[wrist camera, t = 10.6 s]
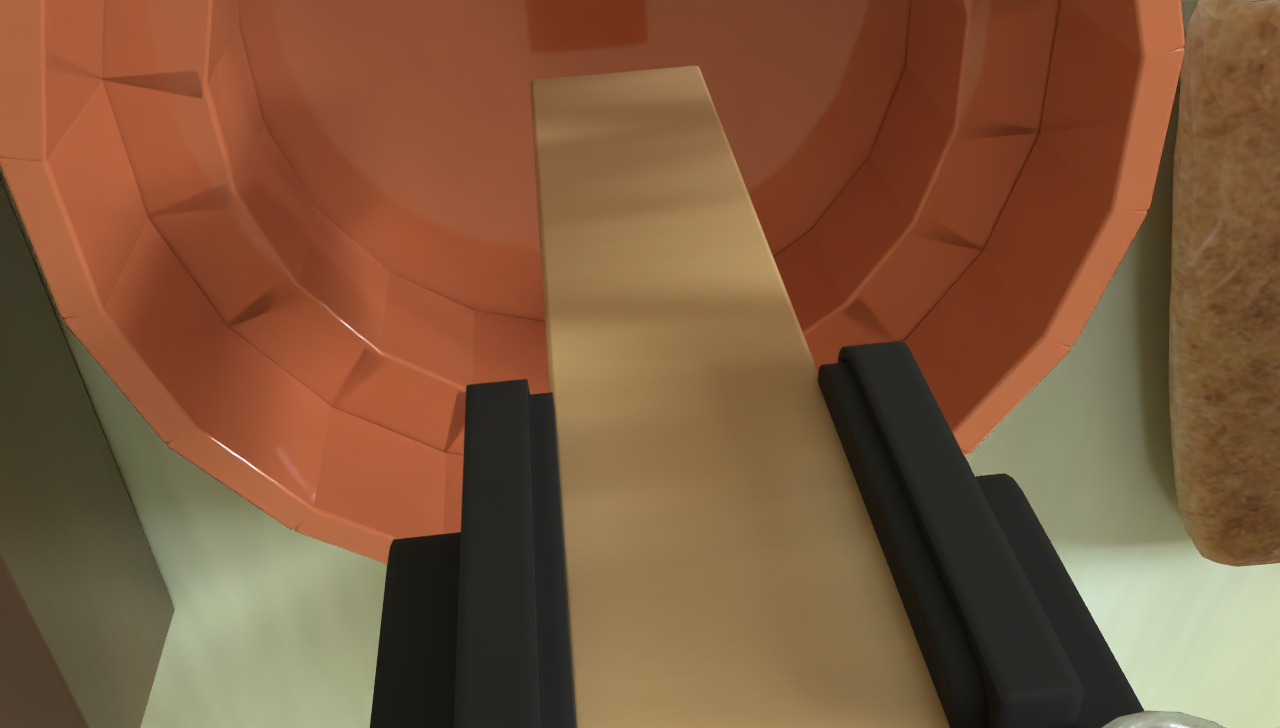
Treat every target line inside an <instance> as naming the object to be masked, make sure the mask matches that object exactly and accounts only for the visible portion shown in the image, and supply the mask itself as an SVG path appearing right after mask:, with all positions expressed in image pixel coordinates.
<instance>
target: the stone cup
mask: <svg viewBox="0 0 1280 728" xmlns="http://www.w3.org/2000/svg"><path fill="white" fill-rule="evenodd" d="M1169 406H1170V423H1171V439H1172V454H1173V467H1174V479H1175V490H1176V495H1177V500H1178V505H1179V510H1180V514H1181V517H1182V520H1183V523H1184V525H1185V528H1186V531H1187V533H1188V534H1189V536H1190V538H1191V540H1192V541H1193V543H1194V545H1195V546H1196V548H1197V550H1198V551H1199V553H1200V554H1201V555H1202V556H1203V557H1204V558H1207V559H1209V560H1211V561H1214V562H1216V563H1221V564H1225V565H1231V566H1237V567H1238V566H1250V565H1262V564H1273V563H1280V0H1199V1H1198V2H1197V4H1196V6H1195V9H1194V11H1193V13H1192V16H1191V18H1190V21H1189V23H1188V25H1187V28H1186V32H1185V45H1184V57H1183V61H1182V67H1181V80H1180V102H1179V118H1178V128H1177V136H1176V143H1175V151H1174V173H1173V215H1172V260H1171V292H1170V310H1169Z"/></svg>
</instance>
